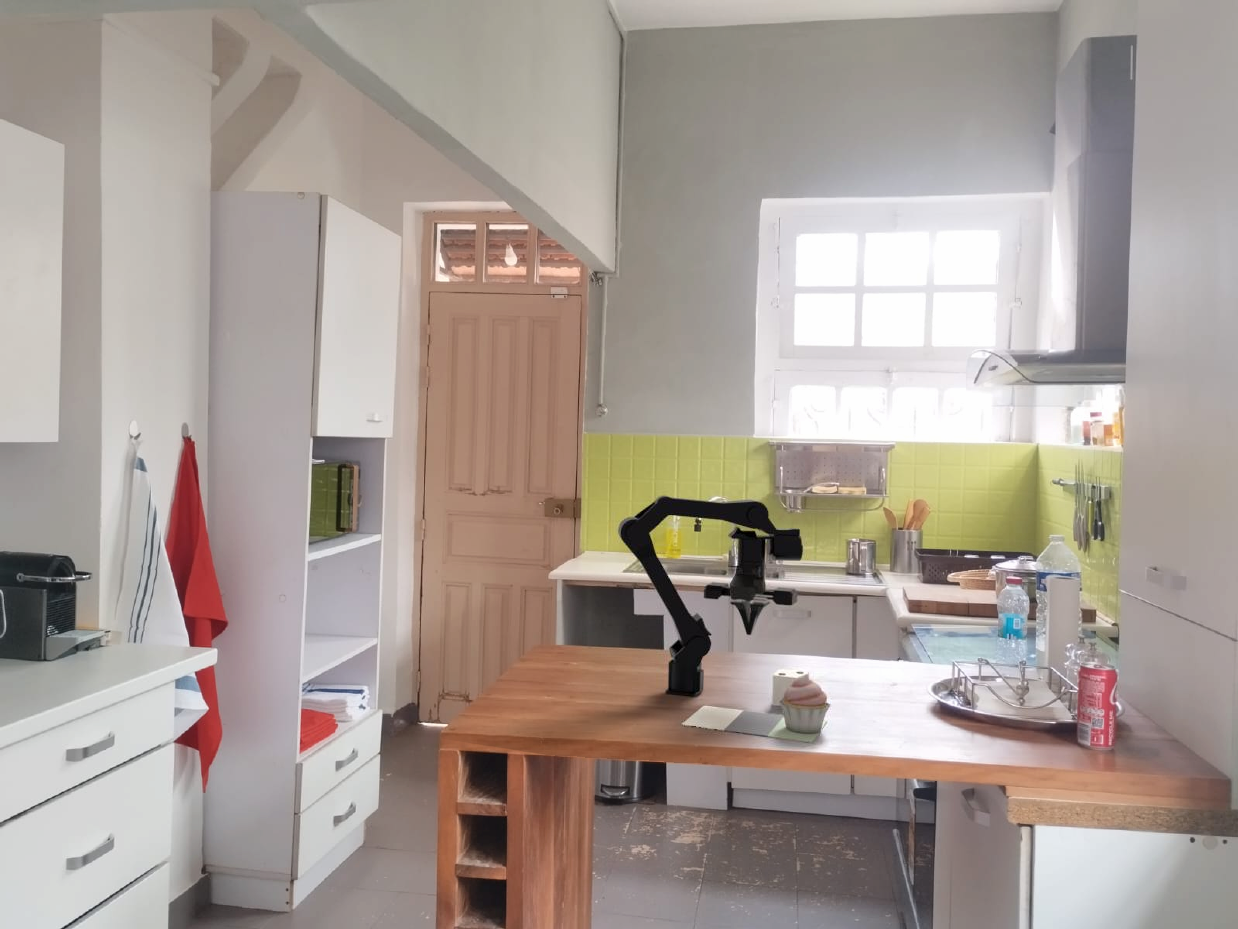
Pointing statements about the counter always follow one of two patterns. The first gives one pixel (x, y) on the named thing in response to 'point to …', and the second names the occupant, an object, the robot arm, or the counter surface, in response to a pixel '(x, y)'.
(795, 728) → the cupcake
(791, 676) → the white cube
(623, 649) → the counter surface
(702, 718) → the game board
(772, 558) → the robot arm
